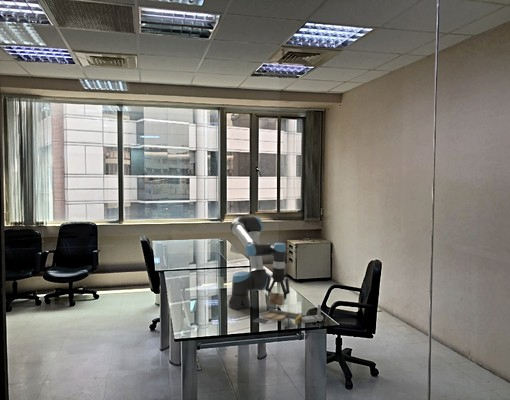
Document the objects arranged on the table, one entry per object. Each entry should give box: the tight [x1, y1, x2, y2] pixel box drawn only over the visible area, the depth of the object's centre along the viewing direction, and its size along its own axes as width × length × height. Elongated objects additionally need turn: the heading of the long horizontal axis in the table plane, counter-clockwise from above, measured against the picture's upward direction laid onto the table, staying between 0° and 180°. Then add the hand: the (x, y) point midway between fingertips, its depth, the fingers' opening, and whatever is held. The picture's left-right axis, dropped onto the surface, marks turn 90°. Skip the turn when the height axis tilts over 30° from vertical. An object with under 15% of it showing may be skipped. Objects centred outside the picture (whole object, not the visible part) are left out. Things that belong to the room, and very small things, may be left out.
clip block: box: [268, 292, 284, 307], centre depth 255 cm, size 8×5×7 cm, turn 67°
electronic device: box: [300, 304, 324, 324], centre depth 255 cm, size 5×10×15 cm
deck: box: [262, 311, 287, 322], centre depth 255 cm, size 21×11×1 cm, turn 67°
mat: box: [252, 317, 270, 325], centre depth 248 cm, size 8×8×1 cm
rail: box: [268, 308, 303, 325], centre depth 255 cm, size 22×11×4 cm, turn 67°
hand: (276, 303), depth 255 cm, fingers closed on clip block, 8 cm apart
